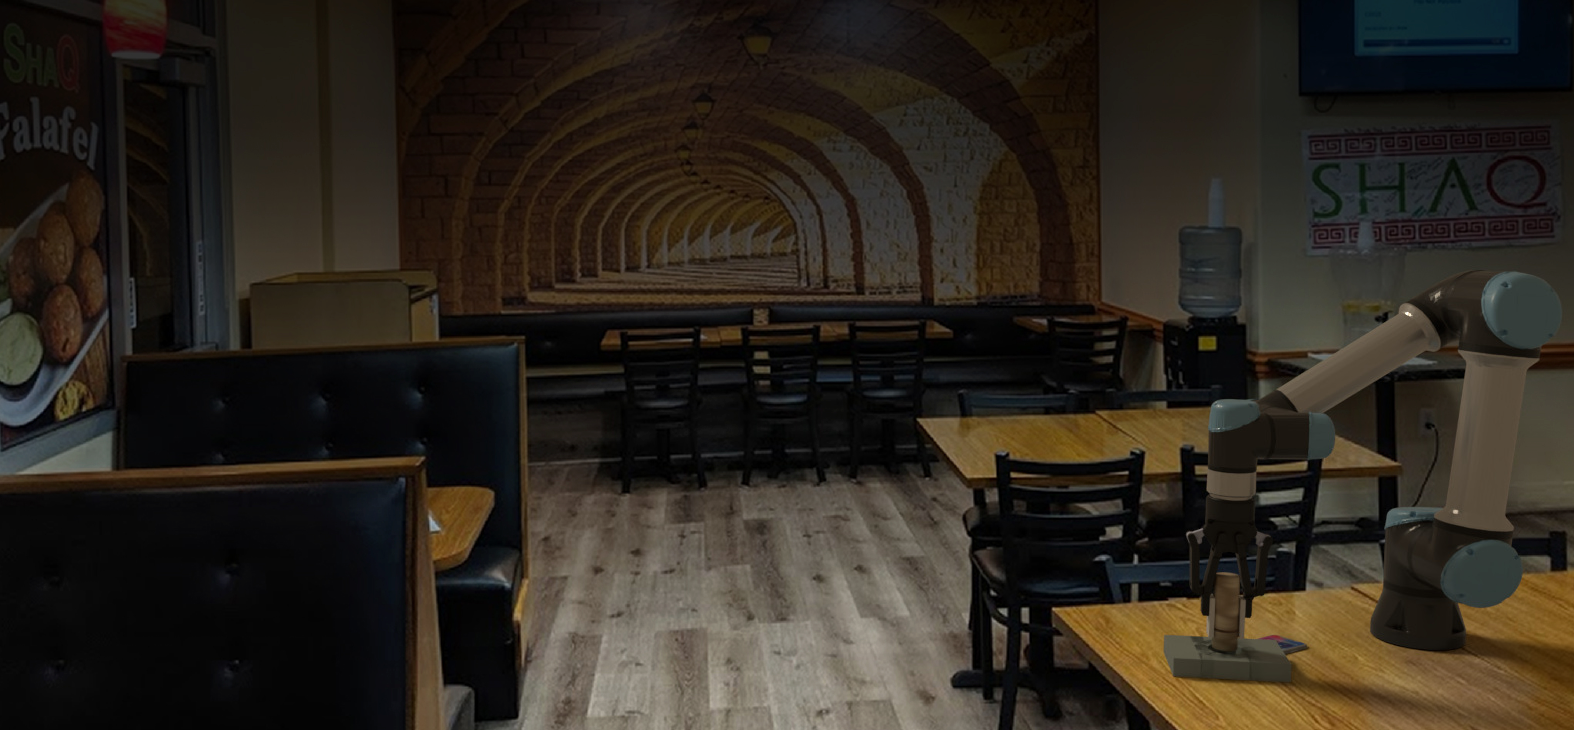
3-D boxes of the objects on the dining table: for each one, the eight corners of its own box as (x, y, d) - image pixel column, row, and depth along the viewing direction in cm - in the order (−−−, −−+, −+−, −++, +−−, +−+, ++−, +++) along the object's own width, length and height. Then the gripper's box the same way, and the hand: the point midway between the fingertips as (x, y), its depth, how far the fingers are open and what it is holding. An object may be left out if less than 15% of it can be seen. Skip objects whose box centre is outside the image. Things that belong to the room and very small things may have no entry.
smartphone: (1216, 648, 217) (1273, 633, 224) (1216, 653, 217) (1273, 638, 225) (1252, 659, 210) (1310, 644, 218) (1252, 665, 210) (1310, 649, 218)
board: (1274, 657, 213) (1275, 639, 213) (1290, 682, 202) (1291, 663, 201) (1163, 651, 216) (1164, 634, 216) (1173, 676, 204) (1173, 658, 204)
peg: (1235, 643, 210) (1238, 572, 209) (1239, 651, 206) (1242, 579, 205) (1209, 642, 211) (1212, 571, 210) (1213, 650, 207) (1216, 578, 206)
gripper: (1281, 492, 208) (1274, 631, 211) (1172, 488, 211) (1167, 625, 213) (1291, 502, 201) (1284, 645, 203) (1179, 498, 204) (1174, 639, 206)
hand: (1225, 635), depth 208 cm, fingers closed on peg, 4 cm apart
